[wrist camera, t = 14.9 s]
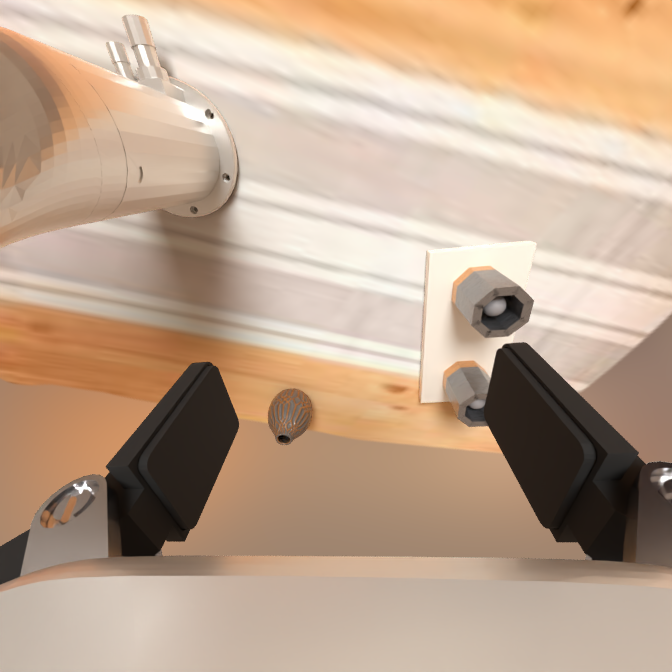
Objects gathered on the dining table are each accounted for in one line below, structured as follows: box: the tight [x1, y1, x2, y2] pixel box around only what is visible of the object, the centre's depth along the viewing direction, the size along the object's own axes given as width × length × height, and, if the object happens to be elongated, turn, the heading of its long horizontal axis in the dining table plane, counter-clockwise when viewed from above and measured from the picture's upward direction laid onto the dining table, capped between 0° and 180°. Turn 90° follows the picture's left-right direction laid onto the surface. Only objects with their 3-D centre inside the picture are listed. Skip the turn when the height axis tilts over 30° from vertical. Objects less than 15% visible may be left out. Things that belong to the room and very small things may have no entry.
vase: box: [268, 389, 312, 445], centre depth 44 cm, size 7×7×9 cm
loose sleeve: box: [451, 266, 534, 338], centre depth 32 cm, size 6×6×7 cm
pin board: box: [419, 241, 537, 409], centre depth 37 cm, size 24×12×8 cm, turn 6°
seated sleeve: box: [443, 360, 491, 427], centre depth 39 cm, size 6×6×7 cm
